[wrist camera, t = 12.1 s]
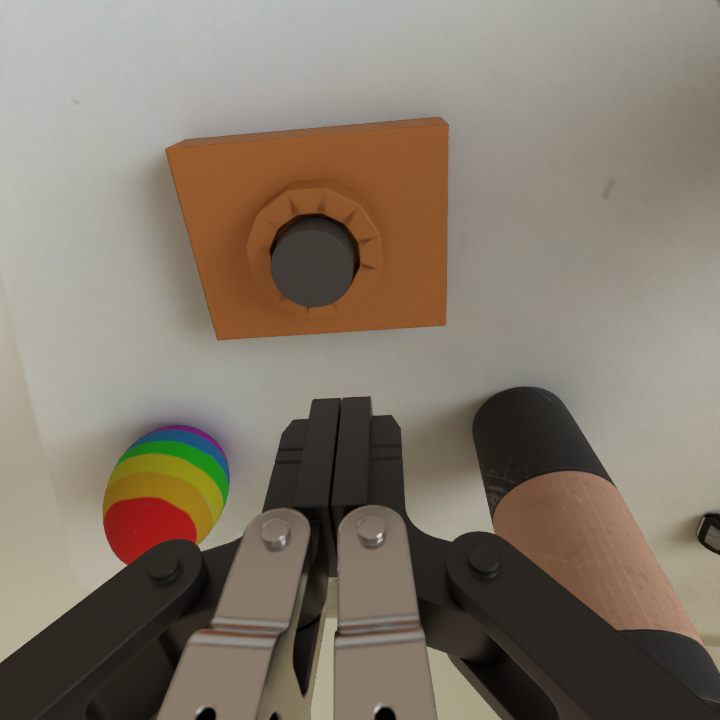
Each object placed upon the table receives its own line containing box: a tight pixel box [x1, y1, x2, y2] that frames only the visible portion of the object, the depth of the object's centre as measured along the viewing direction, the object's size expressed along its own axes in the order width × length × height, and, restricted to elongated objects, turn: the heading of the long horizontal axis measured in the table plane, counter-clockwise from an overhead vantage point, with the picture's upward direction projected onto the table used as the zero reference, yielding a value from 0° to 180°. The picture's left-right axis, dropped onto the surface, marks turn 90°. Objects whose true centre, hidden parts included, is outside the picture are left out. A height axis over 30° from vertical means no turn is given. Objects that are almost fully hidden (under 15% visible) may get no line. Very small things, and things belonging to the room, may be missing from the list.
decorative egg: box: [103, 426, 230, 565], centre depth 35 cm, size 8×8×10 cm
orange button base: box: [166, 117, 449, 340], centre depth 27 cm, size 14×11×5 cm
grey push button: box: [271, 217, 354, 307], centre depth 25 cm, size 4×4×2 cm
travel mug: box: [473, 387, 720, 713], centre depth 28 cm, size 8×8×20 cm
